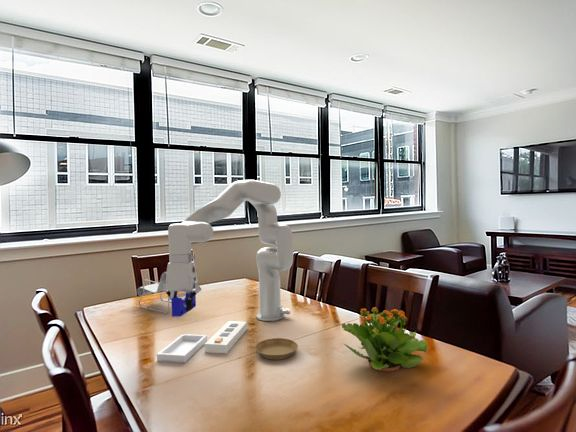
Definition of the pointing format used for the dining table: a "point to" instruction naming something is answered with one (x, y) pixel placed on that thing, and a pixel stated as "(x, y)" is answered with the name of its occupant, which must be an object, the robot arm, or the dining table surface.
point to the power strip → (226, 337)
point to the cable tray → (182, 348)
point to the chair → (156, 290)
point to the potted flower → (386, 341)
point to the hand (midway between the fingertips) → (182, 309)
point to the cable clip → (180, 306)
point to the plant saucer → (276, 348)
